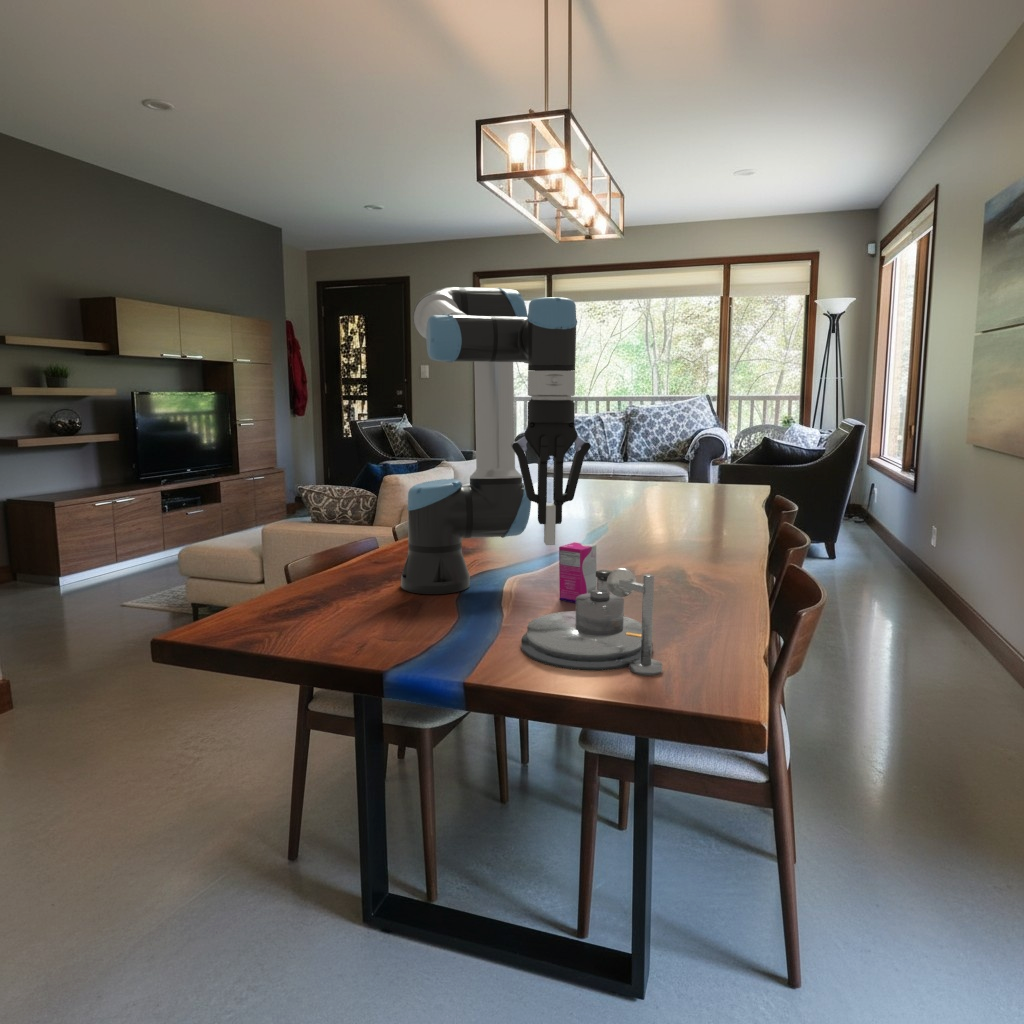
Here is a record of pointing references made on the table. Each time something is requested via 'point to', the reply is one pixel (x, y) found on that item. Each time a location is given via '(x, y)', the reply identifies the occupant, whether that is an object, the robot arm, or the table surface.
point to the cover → (599, 613)
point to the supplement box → (576, 570)
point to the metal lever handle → (621, 586)
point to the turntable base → (576, 664)
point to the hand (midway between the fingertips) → (549, 543)
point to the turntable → (583, 635)
